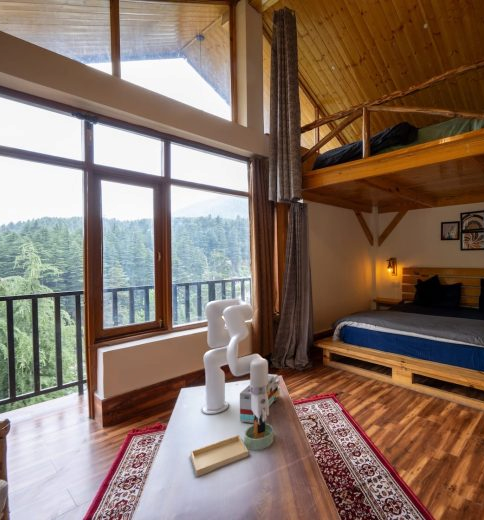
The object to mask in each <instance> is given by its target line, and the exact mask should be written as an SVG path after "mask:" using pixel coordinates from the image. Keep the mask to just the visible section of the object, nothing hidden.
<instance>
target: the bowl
mask: <svg viewBox="0 0 484 520" xmlns="http://www.w3.org/2000/svg"><path fill="white" fill-rule="evenodd" d="M273 443H274V427H273V426H272V424H269V423H265V432H264V438H260V439H254V424H253V425H250V426H249V427H248V428H247V429H246V430H245V431H244V444H245V446H246V448H247V449H248V450H250V451H260V450H261V451H262V450H264V449H267V448H268V447H270V446H271V445H272V444H273Z"/></svg>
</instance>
